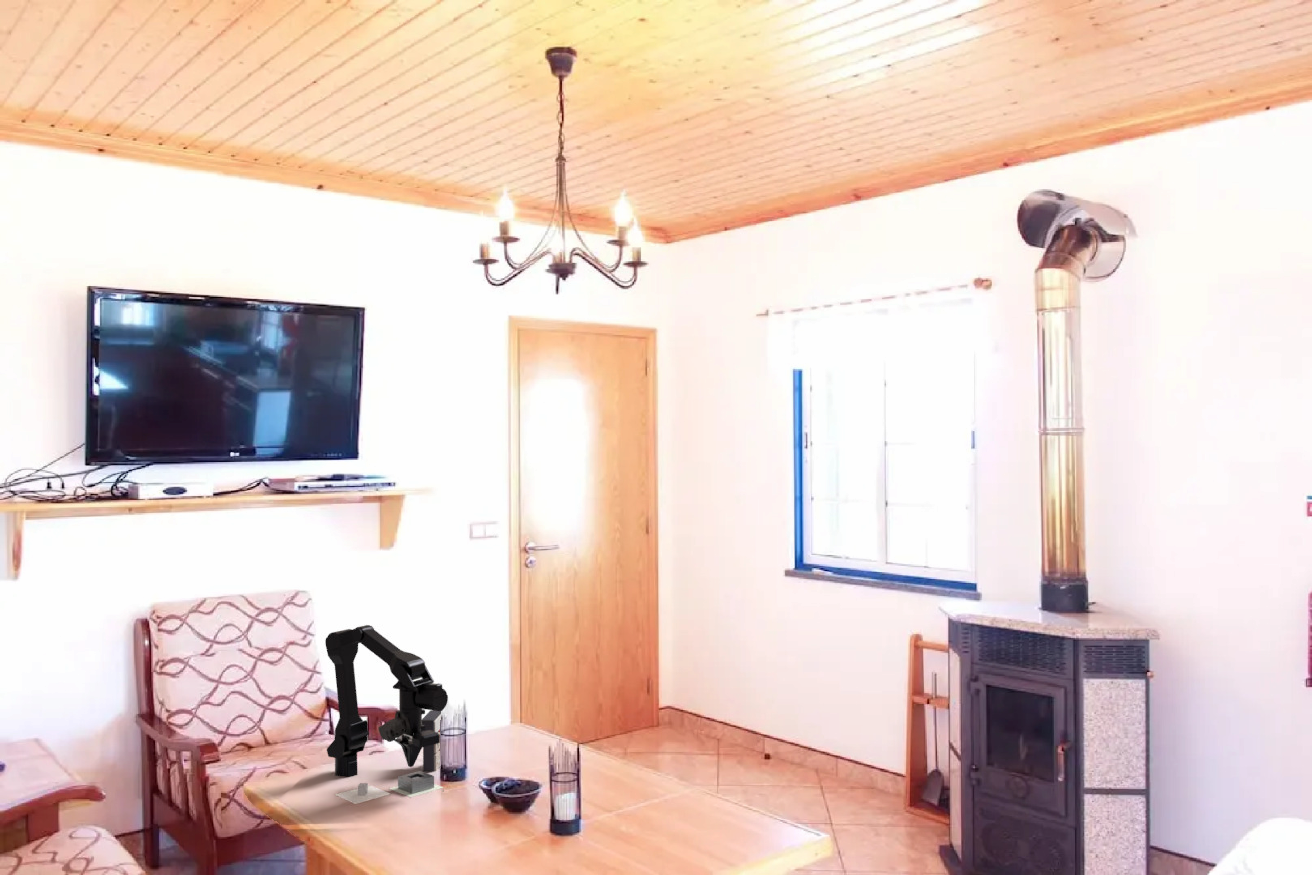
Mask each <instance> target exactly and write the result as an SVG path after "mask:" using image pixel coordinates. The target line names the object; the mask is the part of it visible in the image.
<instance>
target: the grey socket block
mask: <svg viewBox="0 0 1312 875" xmlns="http://www.w3.org/2000/svg"><path fill="white" fill-rule="evenodd" d="M414 777H420V778H417V779H412V778H414ZM434 784H435V776H434V775H432V774H430V773H428V772H423V770H417V771H415V772H411V773H407V774H403V775H398V776H397V786H398V789H401V790H403V791H406V792H408V793H411V794H414V793H418V792H421V791H424V790H428V789H431V788H434Z"/></svg>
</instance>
